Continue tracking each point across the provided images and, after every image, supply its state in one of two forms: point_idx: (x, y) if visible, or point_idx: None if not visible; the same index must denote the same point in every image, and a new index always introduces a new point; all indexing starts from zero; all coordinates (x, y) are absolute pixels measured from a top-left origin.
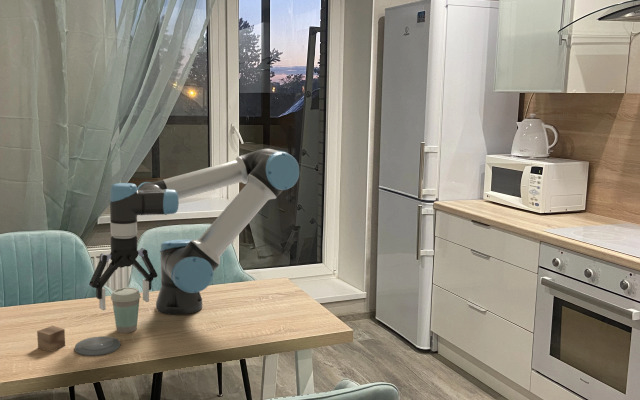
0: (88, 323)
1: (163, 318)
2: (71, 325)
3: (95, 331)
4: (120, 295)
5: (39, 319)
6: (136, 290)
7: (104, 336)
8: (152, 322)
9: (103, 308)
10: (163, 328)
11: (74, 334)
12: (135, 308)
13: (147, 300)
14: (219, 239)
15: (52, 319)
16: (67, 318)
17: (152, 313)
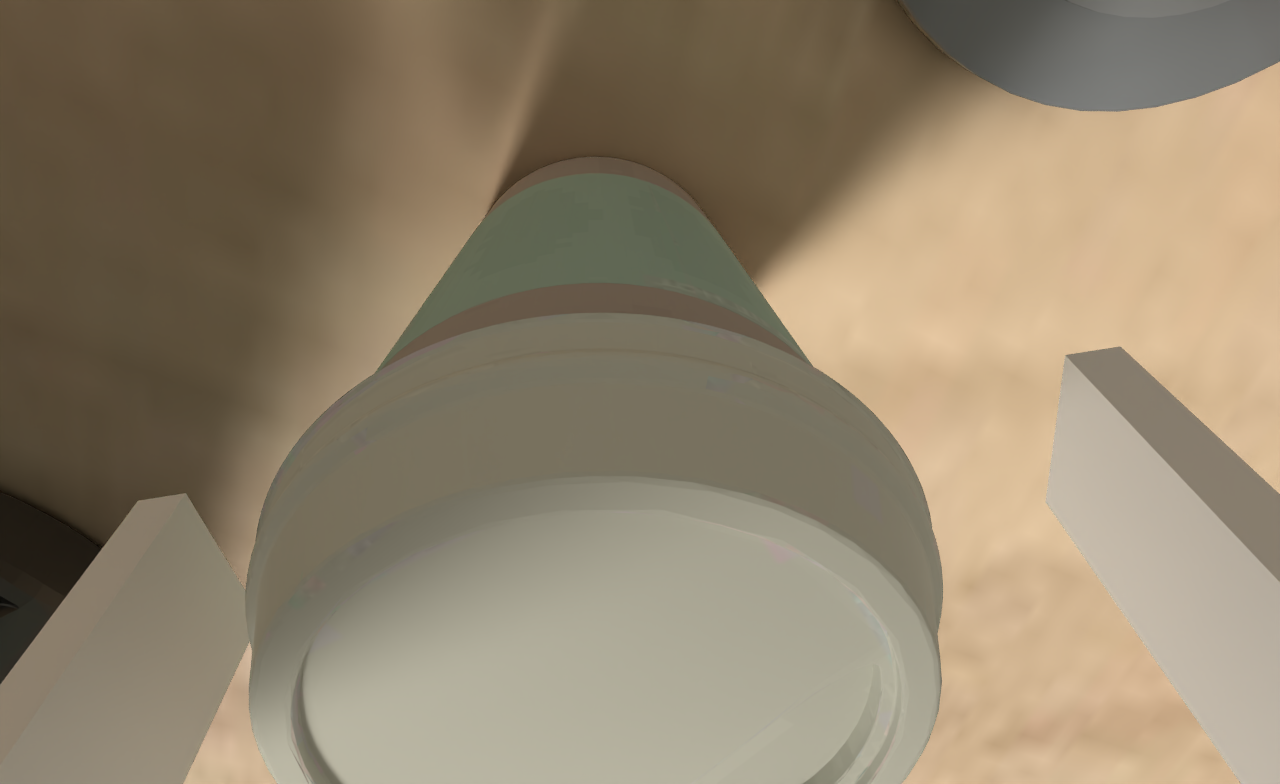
0: None
1: (106, 436)
2: (1054, 587)
3: (937, 363)
4: (840, 524)
5: (1184, 762)
6: (309, 737)
7: (973, 69)
8: (251, 369)
9: (1133, 367)
10: (92, 94)
11: (1158, 369)
12: (448, 296)
13: (153, 516)
14: None
15: (1108, 737)
16: (1002, 722)
17: None
